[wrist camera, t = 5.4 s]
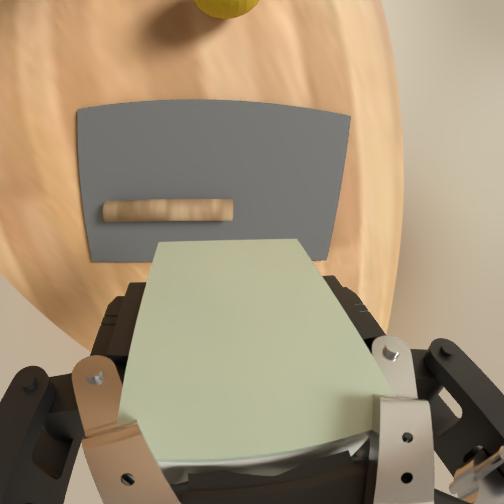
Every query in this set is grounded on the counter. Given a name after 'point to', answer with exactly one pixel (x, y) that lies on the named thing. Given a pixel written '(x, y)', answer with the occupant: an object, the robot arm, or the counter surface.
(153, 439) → the tile
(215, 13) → the lemon
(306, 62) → the counter surface
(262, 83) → the counter surface
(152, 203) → the dowel
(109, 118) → the mat
